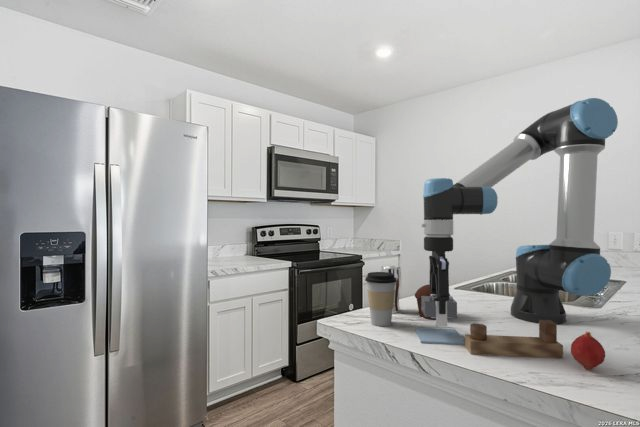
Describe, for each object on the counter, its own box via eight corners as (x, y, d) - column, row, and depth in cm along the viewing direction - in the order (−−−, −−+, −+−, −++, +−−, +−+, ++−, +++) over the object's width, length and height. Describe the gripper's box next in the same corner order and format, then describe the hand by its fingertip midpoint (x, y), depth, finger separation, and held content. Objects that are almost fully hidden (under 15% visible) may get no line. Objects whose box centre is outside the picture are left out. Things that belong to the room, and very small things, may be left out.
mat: (455, 330, 99) (455, 329, 99) (465, 344, 88) (465, 342, 88) (415, 329, 101) (415, 327, 101) (420, 342, 90) (420, 341, 90)
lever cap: (451, 311, 97) (451, 293, 97) (457, 318, 91) (456, 299, 91) (421, 310, 98) (421, 293, 98) (425, 316, 92) (425, 298, 92)
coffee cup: (397, 329, 101) (396, 276, 101) (364, 327, 103) (363, 275, 103) (396, 319, 110) (396, 271, 110) (366, 318, 112) (366, 271, 112)
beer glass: (389, 314, 116) (389, 269, 116) (376, 309, 122) (376, 266, 122) (405, 311, 119) (405, 267, 119) (392, 307, 125) (392, 265, 126)
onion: (564, 364, 77) (563, 327, 77) (588, 363, 77) (588, 326, 77) (586, 376, 71) (586, 336, 71) (612, 375, 71) (612, 335, 71)
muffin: (434, 310, 122) (434, 281, 122) (459, 318, 112) (459, 286, 112) (407, 314, 117) (406, 284, 117) (430, 323, 107) (430, 290, 107)
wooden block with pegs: (551, 350, 85) (551, 319, 85) (563, 358, 80) (562, 325, 80) (464, 346, 87) (464, 316, 87) (470, 354, 82) (470, 322, 83)
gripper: (418, 234, 105) (419, 311, 105) (430, 238, 86) (430, 332, 85) (444, 234, 104) (445, 312, 104) (462, 238, 85) (463, 334, 84)
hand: (438, 321), depth 95 cm, fingers closed on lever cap, 6 cm apart
